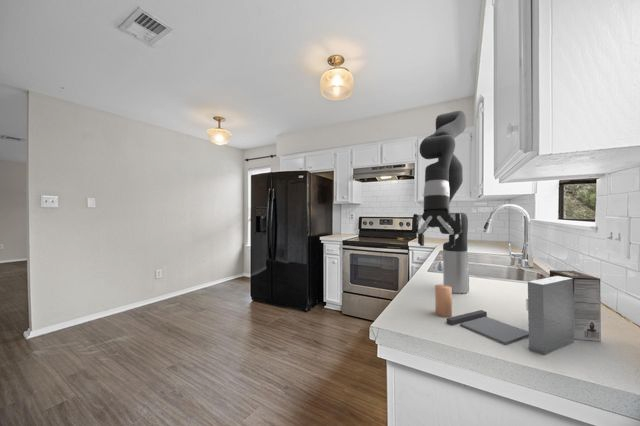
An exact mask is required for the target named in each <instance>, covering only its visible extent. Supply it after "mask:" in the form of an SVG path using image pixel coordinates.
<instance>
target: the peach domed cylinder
mask: <svg viewBox="0 0 640 426" xmlns="http://www.w3.org/2000/svg"><path fill="white" fill-rule="evenodd" d="M434 289H435V291H434V293H435V295H434V297H435V299H434V300H435V301H434V302H435V303H434V304H435V305H434V306H435V309H434V310H435V315H436V316H438V317H441V318H450V317H453V308H452V307H453V305H452V304H453V299H452V298H453V293H452V287H451V286H448V285H443V284H436V285H434Z"/></svg>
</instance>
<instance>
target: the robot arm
mask: <svg viewBox="0 0 640 426" xmlns="http://www.w3.org/2000/svg"><path fill="white" fill-rule="evenodd" d="M466 127H467V118H466V114H465V112H464V111H462V110H455V111H451V112H446V113H442V114H439V115H437V117H436V119H435V132H434V133H432V134H430V135H428V136H426V137H425V138H424V139H423V140H422V141H421V142H420V144H419V150H418V151H419V154H420V156H421V157H422V158H423V159H425V160H433V159H435V160H436V159H437V161H436V162H433V163H430V164H429V165H427V166H426V167H425V169H424V172H425V173H424V186H423V187H424V188H423V213H422V214H417V213H414V214H413V215H412V226H411V230H412V232H414V233H416V234H417V243H418V245H419V246H420V247H425V234H424V233H425V232H426V231H427V230H428V229H429V228H433V229H434V228H438V229H439V232H440V233H441V234H443V235H448V241H446V242H444V243H443V244H442V259H443V260H442V261H443V263H442V268H443V269H442V271H443V273H442V276H443V278H442V279H443V282H442V285H448V286H451V287H452V294H453V293H454V294H461V293H463V294H468V293H469V292H470V269H469V267H468V263H469V262H468V257H469V256H468V229H469V219H468V215H467V214H466V213H464V212H450V203H451V202H452V199H453V198H454V196H455V195H456V193H457V192H458V190H459V189H460V187H461V185H462V184H463V177H464V176H463V173H464V171H463V165H462V163H461V161H460V160H459V158H458V157H457V156H456V155H455V153H454V152H455V148H456V141H455V139H456V138H457V137H458V136H459V135H461V134H462V133H464V131H465V130H466ZM421 220H423V221H424V222H423V224H421V227H420V228H419V223H420V221H421ZM457 235H458V236H457ZM456 236H457V238H456ZM467 292H468V293H467ZM461 295H462V294H461Z"/></svg>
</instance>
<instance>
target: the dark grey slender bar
mask: <svg viewBox="0 0 640 426" xmlns="http://www.w3.org/2000/svg"><path fill="white" fill-rule="evenodd" d="M483 317H488V313H487V311H486V310H482V309H480V310H476V311H470V312H467V313H464V314H459V315H458V314H457V315H456V316H452V317H446V324H447V325H450V326H451V327H452V326H456V325H460V324H461V323H465V322H468V321H472V320H476V319H479V318H483Z"/></svg>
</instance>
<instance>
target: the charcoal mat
mask: <svg viewBox="0 0 640 426" xmlns="http://www.w3.org/2000/svg"><path fill="white" fill-rule="evenodd" d="M459 325H460V327H463V329H464V328H465V329H467V330H469V331H472V332H474V333H477V334H479V335H481V336H483V337H486V338H488V339H490V340H493V341H496V342H498V343H500V344H503V345H504V346H505V345H509V344H512V343H515V342H517V341H520V340H522V339H526V338H529V330H525V329H523V328H519V327H517V326H514V325H511V324H509V323H506V322H504V321H503V322H502V321H500V320H496V319H494V318H493V317H492V318H491V317H488V316H487V317H483V318H479V319H475V320H471V321H468V322H464V323H460V324H459Z"/></svg>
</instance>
